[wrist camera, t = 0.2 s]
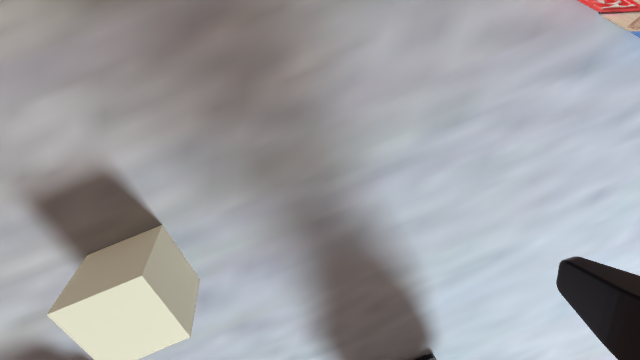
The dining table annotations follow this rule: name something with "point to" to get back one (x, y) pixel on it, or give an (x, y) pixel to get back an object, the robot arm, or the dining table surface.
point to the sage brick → (129, 298)
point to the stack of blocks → (619, 12)
